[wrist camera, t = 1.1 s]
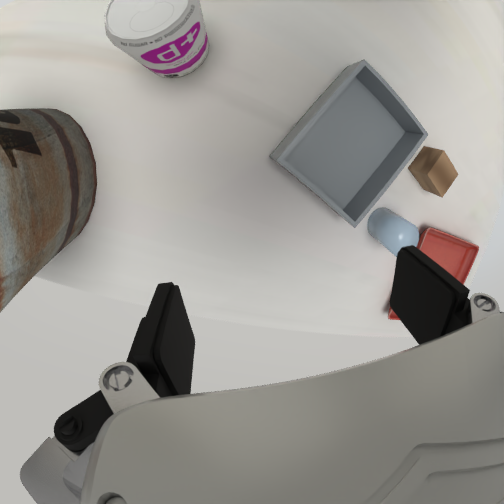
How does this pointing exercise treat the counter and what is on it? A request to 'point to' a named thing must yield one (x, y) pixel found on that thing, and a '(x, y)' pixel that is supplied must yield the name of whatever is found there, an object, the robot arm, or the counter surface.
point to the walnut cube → (433, 170)
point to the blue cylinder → (392, 230)
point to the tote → (352, 142)
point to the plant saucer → (446, 254)
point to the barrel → (40, 191)
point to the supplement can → (159, 33)
